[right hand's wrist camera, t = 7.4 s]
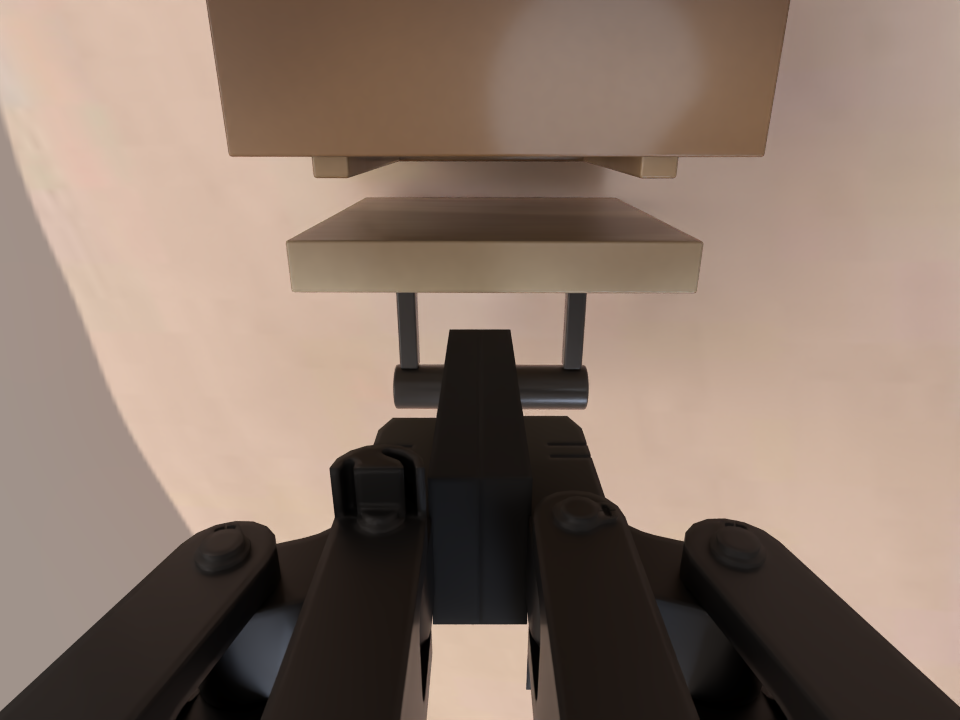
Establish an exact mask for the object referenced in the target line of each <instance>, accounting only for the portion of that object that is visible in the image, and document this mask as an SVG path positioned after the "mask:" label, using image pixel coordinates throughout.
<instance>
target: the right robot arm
mask: <svg viewBox="0 0 960 720" xmlns="http://www.w3.org/2000/svg"><path fill="white" fill-rule="evenodd" d="M330 477H331V486H332V495H333V504H334V513H335V519H334V521H333V524H332V527H331V528H330V529H328V530H326V531H323V532H321V533H319V534H316V535H313V536H309V537H306V538H302V539H297V540H293V541H288V542H283V543H279V544H276V539H275V535H274V534H273V533H272V531H271V530H270V529H269V528H268V527H267V526H264V525H261V524H259V523H256V522H250V521H234V522H229V523H223V524H219V525H215V526H213V527H210V528H208V529H205V530H203V531H201V532H198V533H196V534H195V535H194V536H192V537H191V538H189V539H188V540H186V541H185V542H184V543H182V544H181V545H180V546H179V547H178V548H177V549H175V550H174V551H173V552H172V553H171V554H170V555H169V556H168V557H167V558H166V559H165V560H164V561H163V562H161V563H160V564H159V565H158V566H157V567H156V568H155V569H154V570H153V571H152V572H151V573H150V574H148V575H147V576H146V577H145V578H144V579H143V580H142V581H141V582H140V583H139V584H138V585H137V586H135V587H134V588H133V589H132V590H131V591H130V592H129V593H128V594H127V595H126V596H125V597H124V598H123V599H121V600H120V601H119V602H118V603H117V604H116V605H115V606H114V607H113V608H112V609H111V610H110V611H108V612H107V613H106V614H105V615H104V616H103V617H102V618H101V619H100V620H99V621H98V622H97V623H95V624H94V625H93V626H92V627H91V628H90V629H89V630H88V631H87V632H86V633H85V634H84V635H83V636H81V637H80V638H79V639H78V640H77V641H76V642H75V643H74V644H73V645H72V646H71V647H70V648H68V649H67V650H66V651H65V652H64V653H63V654H62V655H61V656H60V657H59V658H58V659H57V660H55V661H54V662H53V663H52V664H51V665H50V666H49V667H48V668H47V669H46V670H45V671H44V672H42V673H41V674H40V675H39V676H38V677H37V678H36V679H35V680H34V681H33V682H32V683H31V684H30V685H28V686H27V687H26V688H25V689H24V690H23V691H22V692H21V693H20V694H19V695H18V696H17V697H15V698H14V699H13V700H12V701H11V702H10V703H9V704H8V705H7V706H6V707H5V708H4V709H3V710H1V711H0V720H426V719H427V708H428V696H429V685H430V673H431V662H432V635H431V625H432V615H433V624H527V612H528V622H529V634H528V659H527V683H526V690H531V695H532V707H533V718H534V720H960V707H959V706H958V705H957V704H956V703H955V702H954V701H953V700H952V699H950V698H949V697H948V696H947V695H946V694H945V693H944V692H943V691H942V690H941V689H940V688H938V687H937V686H936V685H935V684H934V683H933V682H932V681H931V680H930V679H929V678H928V677H926V676H925V675H924V674H923V673H922V672H921V671H920V670H919V669H918V668H917V667H916V666H914V665H913V664H912V663H911V662H910V661H909V660H908V659H907V658H906V657H905V656H904V655H902V654H901V653H900V652H899V651H898V650H897V649H896V648H895V647H894V646H893V645H892V644H890V643H889V642H888V641H887V640H886V639H885V638H884V637H883V636H882V635H881V634H880V633H879V632H877V631H876V630H875V629H874V628H873V627H872V626H871V625H870V624H869V623H868V622H867V621H865V620H864V619H863V618H862V617H861V616H860V615H859V614H858V613H857V612H856V611H855V610H853V609H852V608H851V607H850V606H849V605H848V604H847V603H846V602H845V601H844V600H843V599H841V598H840V597H839V596H838V595H837V594H836V593H835V592H834V591H833V590H832V589H831V588H829V587H828V586H827V585H826V584H825V583H824V582H823V581H822V580H821V579H820V578H819V577H817V576H816V575H815V574H814V573H813V572H812V571H811V570H810V569H809V568H808V567H807V566H806V565H804V564H803V563H802V562H801V561H800V560H799V559H798V558H797V557H796V556H795V555H794V554H792V553H791V552H790V551H789V550H788V549H787V548H786V547H785V546H784V545H783V544H782V543H780V542H779V541H778V540H776V539H775V538H774V537H772V536H771V535H769V534H768V533H767V532H765V531H764V530H761V529H759V528H757V527H754V526H752V525H749V524H747V523H745V522H740V521H735V520H730V519H706V520H703V521H700V522H697V523H694V524H693V525H692V526H691V527H690V528H689V529H688V530H687V531H686V533H685V539H684V541H679V540H674V539H670V538H665V537H660V536H656V535H652V534H649V533H645V532H642V531H640V530H638V529H635V528H633V527H631V526H629V525H628V523H627V521H626V518H625V516H624V515H623V513H622V512H621V510H620V509H619V507H618V506H617V505H615V504H614V503H612V502H611V501H609V500H608V499H607V498H605V496H604V493H603V490H602V487H601V484H600V481H599V478H598V475H597V472H596V469H595V466H594V463H593V460H592V458H591V455H590V452H589V449H588V446H587V443H586V440H585V437H584V434H583V431H582V428H581V427H579V426H578V425H577V424H576V423H575V422H574V421H572V420H571V419H570V418H569V417H568V416H523V411H522V404H521V397H520V391H519V384H518V377H517V371H516V364H515V357H514V351H513V344H512V338H511V331H510V330H450V331H449V338H448V344H447V351H446V357H445V364H444V371H443V377H442V384H441V391H440V397H439V404H438V411H437V417H436V418H392V419H391V420H390V421H389V422H388V423H386V424H385V425H384V426H383V427H382V428H381V429H379V430H378V433H377V436H376V439H375V442H374V445H370V446H364V447H361V448H358V449H355V450H351V451H349V452H347V453H346V454H344V455H342V456H341V457H339V458H337V459H336V461H335V462H334V463H333V464H332V466H331V467H330Z"/></svg>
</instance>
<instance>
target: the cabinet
mask: <svg viewBox="0 0 960 720" xmlns="http://www.w3.org/2000/svg"><path fill="white" fill-rule="evenodd" d="M206 3H207V10H208V17H209V24H210V30H211V37H212V44H213V50H214V57H215V64H216V71H217V77H218V84H219V91H220V98H221V104H222V111H223V118H224V124H225V131H226V138H227V145H228V151H229V155H230V156H232V157H762V156H764V153H765V147H766V141H767V135H768V129H769V123H770V117H771V111H772V105H773V99H774V93H775V87H776V81H777V75H778V70H779V64H780V58H781V52H782V46H783V40H784V34H785V28H786V22H787V16H788V10H789V4H790V0H206Z"/></svg>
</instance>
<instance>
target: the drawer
mask: <svg viewBox="0 0 960 720" xmlns="http://www.w3.org/2000/svg"><path fill="white" fill-rule="evenodd" d="M398 161H585V162H589V163H592V164H595V165H599V166H602V167H606V168H609V169H612V170H616V171H619V172H622V173H626V174H629V175H633V176H636V177H639V178H675V177H676V173H677V165H678V157H312V163H313V173H314V177H316V178H349V177H352V176H355V175H358V174H361V173H364V172H367V171H370V170H373V169H376V168H379V167H382V166H385V165H388V164H391V163H394V162H398ZM286 247H287V256H288V264H289V272H290V280H291V289H292V291H293V292H389V293H396V296H397V314H398V333H399V352H400V364H398V365H396V368H395V372H394V381H393V394H394V403H395V406H396V408H398V409H438V404H439V397H440V391H441V384H442V377H443V371H444V365H419V363H420V353H419V329H418V304H417V293H566V296H565V314H564V332H563V350H562V364H563V365H516V371H517V377H518V384H519V391H520V397H521V404H522V409H585V408H586V406H587V403H588V393H589V382H588V373H587V369H586V366H584V365H582V355H583V341H584V326H585V312H586V297H587V293H696V291H697V285H698V278H699V271H700V264H701V257H702V249H703V242H702V241H700V240H698V239H696V238H694V237H692V236H690V235H688V234H686V233H684V232H682V231H680V230H678V229H676V228H674V227H672V226H670V225H668V224H666V223H664V222H662V221H660V220H658V219H657V218H655V217H653V216H651V215H649V214H647V213H645V212H643V211H641V210H639V209H637V208H635V207H633V206H631V205H629V204H627V203H625V202H623V201H621V200H619V199H617V198H365V199H363V200H361V201H359V202H357V203H356V204H354V205H352V206H350V207H348V208H346V209H345V210H343V211H341V212H339V213H337V214H335V215H334V216H332V217H330V218H328V219H326V220H324V221H323V222H321V223H319V224H317V225H315V226H313V227H312V228H310V229H308V230H306V231H304V232H302V233H301V234H299V235H297V236H295V237H293V238H291V239H290V240H288V241H287V242H286Z"/></svg>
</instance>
